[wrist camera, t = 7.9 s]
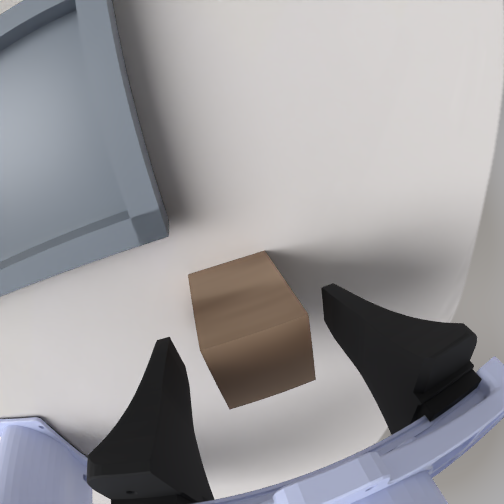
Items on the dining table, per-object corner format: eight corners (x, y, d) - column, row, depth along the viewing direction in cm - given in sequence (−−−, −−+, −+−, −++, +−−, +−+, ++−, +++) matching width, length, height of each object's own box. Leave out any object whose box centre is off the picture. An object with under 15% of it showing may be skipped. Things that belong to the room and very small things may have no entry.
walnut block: (277, 310, 17) (315, 379, 12) (210, 332, 17) (229, 409, 12) (264, 250, 15) (308, 314, 11) (187, 274, 15) (200, 350, 10)
